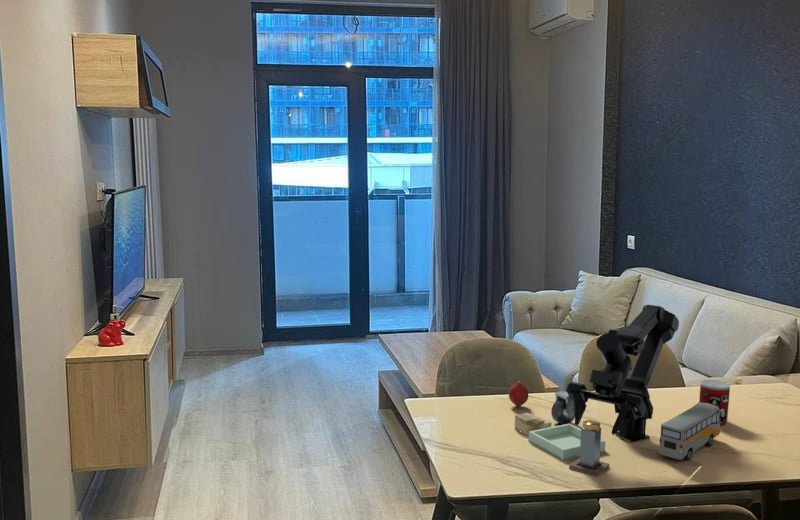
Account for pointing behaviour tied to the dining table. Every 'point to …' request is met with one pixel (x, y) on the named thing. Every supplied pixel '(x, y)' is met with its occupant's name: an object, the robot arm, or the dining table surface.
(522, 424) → the block
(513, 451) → the dining table surface
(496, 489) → the dining table surface
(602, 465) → the pin socket
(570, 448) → the tray
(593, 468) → the pin
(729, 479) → the dining table surface
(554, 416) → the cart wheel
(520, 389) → the onion
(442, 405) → the dining table surface
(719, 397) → the canned food
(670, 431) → the toy bus
